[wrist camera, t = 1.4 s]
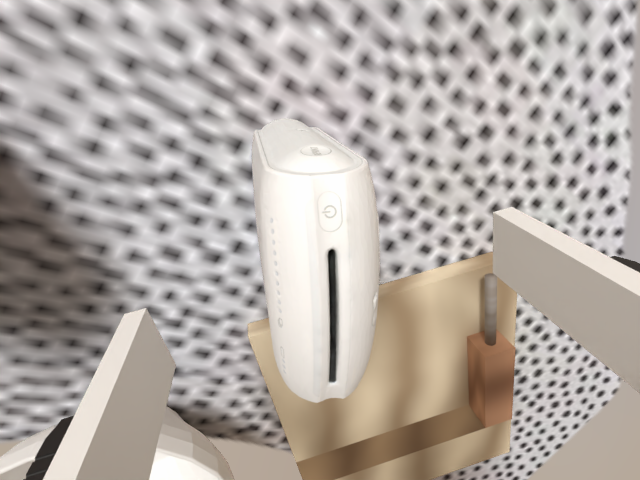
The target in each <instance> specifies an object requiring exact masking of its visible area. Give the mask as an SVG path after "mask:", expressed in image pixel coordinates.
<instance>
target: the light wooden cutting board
mask: <svg viewBox="0 0 640 480" xmlns="http://www.w3.org/2000/svg"><path fill="white" fill-rule="evenodd" d="M488 273H493V252H489V253H486V254H483V255H479V256H476V257H472V258H469V259H466V260H462V261H459V262H456V263H452V264H449V265H445V266H442V267H439V268H435V269H432V270H429V271H425V272H422V273H418V274H415V275H412V276H408V277H405V278H401V279H398V280H395V281H391V282H388V283H385V284H381V285H379V293H378V307H377V319H376V327H375V334H374V339H373V345H372V349H371V353H370V358H369V361H368V364H367V367H366V370H365V372H364V375H363V377H362V379H361V381H360V383H359V384H358V386H357V388H356V389H355V390H354V391H353V392H352V393H351V394H350V395H349V396H347V397H346V398H344V399H341V398H329V399H326V400H323V401H321V402H319V403H315V402H311V401H308V400H305V399H303V398H301V397H299V396H298V395H296V394H295V393H293V392H292V391H291V390H290V389H289V388H288V386H287V385H286V383H285V382H284V380H283V378H282V376H281V374H280V372H279V369H278V367H277V364H276V360H275V356H274V351H273V345H272V338H271V331H270V324H269V318H266V319H263V320H260V321H256V322H253V323H249V324H248V338H249V341H250V343H251V346H252V349H253V351H254V354H255V356H256V359H257V362H258V364H259V367H260V369H261V372H262V375H263V377H264V380H265V382H266V385H267V388H268V390H269V393H270V395H271V398H272V401H273V403H274V406H275V408H276V411H277V414H278V416H279V419H280V421H281V424H282V427H283V429H284V432H285V434H286V437H287V440H288V442H289V445H290V448H291V450H292V453H293V455H294V458H295V461H296V463H297V466H298V468H299V471H300V474H301V476H302V479H303V480H431V479H434V478H436V477H439V476H442V475H445V474H448V473H451V472H453V471H456V470H459V469H462V468H465V467H468V466H470V465H473V464H476V463H479V462H482V461H485V460H488V459H490V458H493V457H496V456H499V455H502V454H505V453H507V452H509V448H510V428H511V420H508V421H505V422H502V423H499V424H496V425H493V426H490V427H487V428H485V427H484V426H483V424H482V423H481V421H480V420H479V418H478V417H477V416H476V414H475V413H474V411H473V410H472V408H471V407H470V405H469V389H468V355H467V336H469V335H473V334H476V333H479V332H482V331H485V275H486V274H488ZM516 304H517V292H515V291H514V290H513V289H512V288H510V287H509V286H508V285H507V284H506V283H504V282H503V281H502V280H501V279H499V278H498V277H497V324H496V329H497V330H498V331H499V332H500V333H501V334H502V335H503V336H504V337H505V338H506V339H507V340H508V341H509V342H510V343H511V344H512V345H513V346H514V345H515V324H516Z"/></svg>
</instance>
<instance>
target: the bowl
mask: <svg viewBox="0 0 640 480" xmlns="http://www.w3.org/2000/svg"><path fill="white" fill-rule="evenodd" d="M57 425H58V424H57ZM57 425H54V426H52V427H50V428H48V429H46V430H43V431H41V432H39V433H37V434H34V435H32V436H31V437H29V438H27V439H26V440H24V441H22V442H20V443H19V444H17V445H16V446H15V447H13V448H12V449H11V450H9V451H8V452H7V453H5V454H4V455H3V456H1V457H0V480H23V479H26V473H27V472H28V470H29V468H30V466H31V464H32V462H35V457H36V455H37V453H38V451H39V449H40V447H41V446H42V444H43V442H44V440H45V438H46V437H47V436H48V435H49V434H50V433H51V431H52V430H53V429H54V428H55V427H56V426H57ZM149 480H234V478H233V475H232V472H231V470H230V467H229V465H228V463H227V461H226V460H225V458H224V457H223V456H222V454H221V453H220V452H219V451H218V450H217V448H216V447H214V445H213V444H212V443H211V442H210V440H209V439H208V438H207V437H206V436H205V435H203V434H202V433H201V432H200V431H198V430H196V429H195V428H193V427H192V426H190V425H189V424H187V423H186V422H185V421H184V420H183V419H182V418H181V417H180V416H179V415H178V414H177V413H176V412H175V411H173V410H172V409H170V408H169V407H167V406H166V410H165V414H164V418H163V422H162V427H161V431H160V435H159V440H158V444H157V448H156V453H155V457H154V461H153V465H152V470H151V474H150V478H149Z"/></svg>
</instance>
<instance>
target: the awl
mask: <svg viewBox="0 0 640 480" xmlns="http://www.w3.org/2000/svg"><path fill="white" fill-rule="evenodd" d="M496 324H497V276H496V275H495V274H493V273H488V274H486V275H485V331H482V332H479V333H476V334H473V335H469V336H467V355H468V389H469V405H470V407H471V408H472V410H473V411H474V413H475V414H476V416H477V417H478V418H479V420H480V421H481V423H482V424H483V426H484V427H485V428H487V427H490V426H493V425H496V424H499V423H502V422H505V421H508V420H511V419H512V405H513V385H514V365H515V347H514V346H513V345H512V344H511V343H510V342H509V341H508V340H507V339H506V338H505V337H504V336H503V335H502V334H501V333H500V332H499V331H498V330H497V329H496Z"/></svg>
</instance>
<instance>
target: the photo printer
mask: <svg viewBox="0 0 640 480" xmlns="http://www.w3.org/2000/svg"><path fill="white" fill-rule="evenodd" d="M252 171H253V187H254V201H255V214H256V225H257V234H258V243H259V252H260V259H261V267H262V273H263V280H264V288H265V295H266V302H267V309H268V316H269V324H270V331H271V338H272V345H273V351H274V356H275V360H276V364H277V367H278V369H279V372H280V374H281V376H282V378H283V380H284V382H285V383H286V385H287V386H288V388H289V389H290V390H291V391H292V392H293V393H295V394H296V395H298V396H299V397H301V398H303V399H305V400H308V401H311V402H315V403H319V402H321V401H323V400H326V399H329V398H341V399H344V398H346V397H347V396H349V395H350V394H351V393H352V392H353V391H354V390H355V389H356V388H357V386H358V384H359V383H360V381H361V379H362V377H363V375H364V372H365V370H366V367H367V364H368V361H369V358H370V353H371V349H372V345H373V339H374V334H375V327H376V319H377V307H378V293H379V266H380V258H379V257H380V253H379V251H380V249H379V244H380V243H379V218H378V212H377V207H376V197H375V191H374V185H373V181H372V177H371V173H370V169H369V165H368V163H367V160H366V159H365V158H363V157H362V156H360V155H358V154H357V153H355V152H354V151H352V150H351V149H349V148H348V147H346V146H344V145H343V144H341V143H340V142H338V141H337V140H335V139H334V138H332V137H331V136H329V135H328V134H326V133H325V132H323V131H322V130H320V129H319V128H317V127H311V128H310V127H308V126H306V125H305V124H303V123H302V122H300V121H297V120H294V119H278V120H275V121H272V122H270V123H269V124H267V125H266V126H264V127H263V128H262V129H261V130H255V131H254V135H253V142H252Z"/></svg>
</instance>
